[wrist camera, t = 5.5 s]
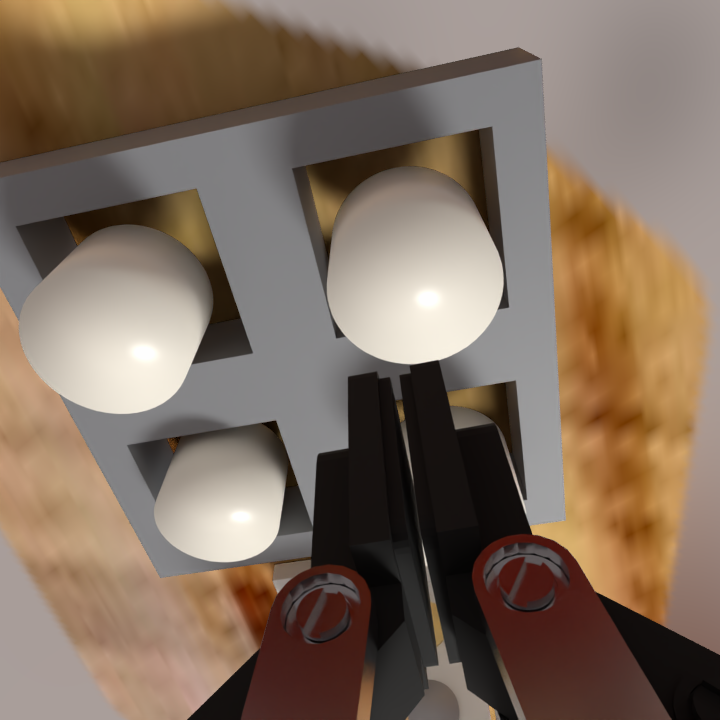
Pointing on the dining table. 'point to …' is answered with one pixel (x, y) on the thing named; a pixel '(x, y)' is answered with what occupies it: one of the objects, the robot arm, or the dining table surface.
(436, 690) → the card
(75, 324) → the button
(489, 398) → the dining table surface
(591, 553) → the dining table surface
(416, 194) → the button
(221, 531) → the button
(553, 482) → the button board
